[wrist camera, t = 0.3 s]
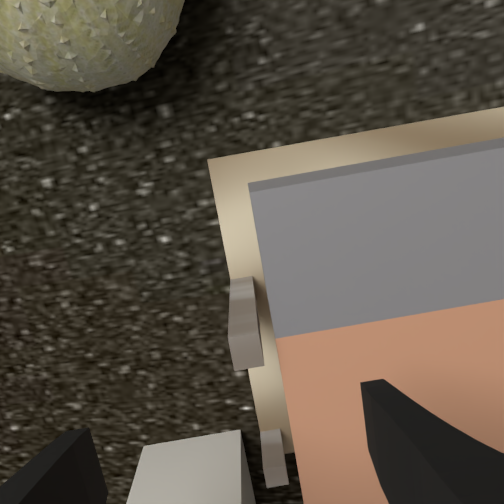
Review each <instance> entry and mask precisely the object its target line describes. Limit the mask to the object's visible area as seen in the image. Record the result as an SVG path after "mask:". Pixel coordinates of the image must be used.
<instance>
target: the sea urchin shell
mask: <svg viewBox="0 0 504 504" xmlns="http://www.w3.org/2000/svg"><path fill="white" fill-rule="evenodd" d="M184 1H185V0H0V73H4V74H8V75H10V76H12V77H14V78H15V79H18V80H21V81H25V82H28V83H29V84H33V85H35V86H38V87H40V88H41V89H46V90H48V91H49V90H51V91H56V92H59V91H80V92H85V91H92V92H95V91H100V90H102V89H104V88H108V87H111V86H116V85H119V84H126V83H128V82H130V81H132V80H133V81H136V80H137V79H138V77H140V76H141V75H143V74H144V73H145V72H146V71H148V70H149V69H150V68H151V67H154V66H155V63H156V61H157V60H158V59H159V57H160V55H161V53H162V51H163V49H164V48H165V47H166V45H167V44H168V42H169V40H170V39H171V38H172V37H173V35H174V34H175V33H176V27H177V25H178V22H179V16H180V13H181V11H182V7H183V4H184Z"/></svg>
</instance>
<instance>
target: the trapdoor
mask: <svg viewBox="0 0 504 504" xmlns="http://www.w3.org/2000/svg"><path fill="white" fill-rule="evenodd" d="M248 188H249V194H250V200H251V205H252V211H253V217H254V223H255V228H256V234H257V240H258V245H259V251H260V257H261V263H262V268H263V274H264V280H265V286H266V291H267V297H268V303H269V308H270V314H271V319H272V324H273V330H274V335H275V341H276V347H277V353H278V358H279V364H280V370H281V376H282V381H283V387H284V393H285V398H286V404H287V410H288V416H289V421H290V427H291V433H292V439H293V444H294V450H295V456H296V462H297V467H298V473H299V479H300V484H301V490H302V496H303V502H304V504H389V503H388V501H387V499H386V496H385V494H384V492H383V490H382V488H381V485H380V483H379V480H378V477H377V474H376V471H375V468H374V465H373V463H372V460H371V457H370V454H369V451H368V444H367V436H366V428H365V420H364V411H363V403H362V395H361V386H360V382H366V381H372V380H378V379H384V380H386V381H387V382H389V383H390V384H391V385H393V386H394V387H396V388H397V389H398V390H400V391H401V392H402V393H404V394H405V395H407V396H408V397H409V398H411V399H412V400H414V401H415V402H416V403H418V404H419V405H421V406H422V407H424V408H425V409H427V410H428V411H430V412H431V413H433V414H434V415H436V416H437V417H439V418H440V419H442V420H444V421H445V422H447V423H448V424H450V425H452V426H453V427H455V428H457V429H459V430H460V431H462V432H464V433H465V434H467V435H469V436H471V437H472V438H474V439H476V440H478V441H480V442H482V443H484V444H485V445H487V446H490V447H492V448H494V449H496V450H498V451H500V452H502V453H504V137H503V138H498V139H492V140H487V141H481V142H475V143H470V144H464V145H458V146H453V147H447V148H442V149H436V150H430V151H425V152H419V153H413V154H408V155H402V156H397V157H391V158H385V159H380V160H374V161H368V162H363V163H357V164H351V165H346V166H340V167H335V168H329V169H323V170H318V171H312V172H306V173H301V174H295V175H290V176H284V177H278V178H273V179H267V180H261V181H256V182H250V183H248Z"/></svg>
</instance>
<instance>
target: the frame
mask: <svg viewBox="0 0 504 504" xmlns="http://www.w3.org/2000/svg"><path fill="white" fill-rule="evenodd" d="M503 137H504V107H499V108H493V109H488V110H482V111H476V112H471V113H465V114H460V115H454V116H448V117H443V118H437V119H432V120H426V121H420V122H415V123H409V124H404V125H398V126H392V127H387V128H381V129H376V130H370V131H364V132H359V133H353V134H348V135H342V136H336V137H331V138H325V139H320V140H314V141H308V142H303V143H297V144H292V145H286V146H280V147H275V148H269V149H264V150H258V151H252V152H247V153H241V154H236V155H230V156H224V157H219V158H213V159H208V160H207V161H208V166H209V171H210V176H211V182H212V187H213V192H214V197H215V202H216V207H217V212H218V217H219V223H220V228H221V233H222V238H223V243H224V248H225V253H226V259H227V264H228V269H229V274H230V279H231V281H230V302H229V324H228V341H229V346H230V351H231V356H232V361H233V366H234V371H238V370H244V369H248V372H249V377H250V382H251V387H252V392H253V397H254V402H255V408H256V413H257V418H258V423H259V428H260V435H261V448H262V461H263V471H264V476H265V481H266V486H267V488H270V487H276V486H282V485H288V484H289V482H288V475H287V468H286V462H285V455H284V454H287V453H293V452H295V450H294V444H293V439H292V433H291V427H290V421H289V416H288V410H287V404H286V398H285V393H284V387H283V381H282V376H281V370H280V364H279V358H278V353H277V347H276V341H275V335H274V330H273V324H272V319H271V314H270V308H269V303H268V297H267V291H266V286H265V280H264V274H263V268H262V263H261V257H260V251H259V245H258V240H257V234H256V228H255V223H254V217H253V211H252V205H251V200H250V194H249V188H248V183H250V182H256V181H261V180H267V179H273V178H278V177H284V176H290V175H295V174H301V173H306V172H312V171H318V170H323V169H329V168H335V167H340V166H346V165H351V164H357V163H363V162H368V161H374V160H380V159H385V158H391V157H397V156H402V155H408V154H413V153H419V152H425V151H430V150H436V149H442V148H447V147H453V146H458V145H464V144H470V143H475V142H481V141H487V140H492V139H498V138H503Z"/></svg>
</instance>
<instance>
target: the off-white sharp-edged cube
mask: <svg viewBox="0 0 504 504" xmlns="http://www.w3.org/2000/svg"><path fill="white" fill-rule="evenodd" d="M127 504H256V502H255V497H254V493H253V488H252V483H251V478H250V473H249V468H248V464H247V459H246V454H245V449H244V444H243V440H242V435H241V430H235V431H230V432H224V433H218V434H212V435H206V436H200V437H194V438H189V439H183V440H177V441H171V442H165V443H159V444H154V445H148V446H144V447H143V451H142V454H141V457H140V461H139V464H138V467H137V471H136V474H135V477H134V480H133V484H132V487H131V490H130V494H129V497H128V500H127Z"/></svg>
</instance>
